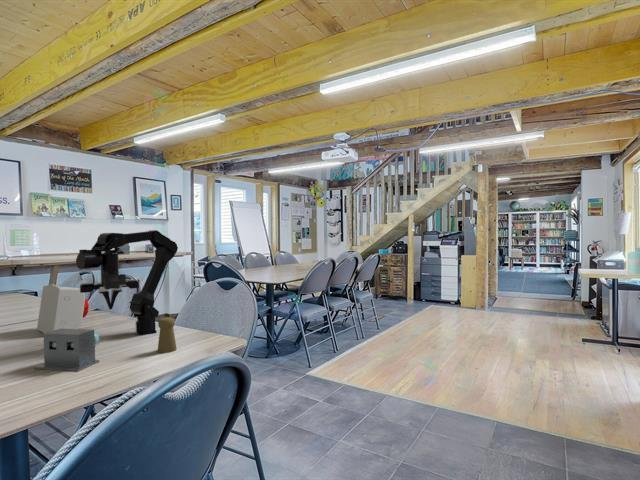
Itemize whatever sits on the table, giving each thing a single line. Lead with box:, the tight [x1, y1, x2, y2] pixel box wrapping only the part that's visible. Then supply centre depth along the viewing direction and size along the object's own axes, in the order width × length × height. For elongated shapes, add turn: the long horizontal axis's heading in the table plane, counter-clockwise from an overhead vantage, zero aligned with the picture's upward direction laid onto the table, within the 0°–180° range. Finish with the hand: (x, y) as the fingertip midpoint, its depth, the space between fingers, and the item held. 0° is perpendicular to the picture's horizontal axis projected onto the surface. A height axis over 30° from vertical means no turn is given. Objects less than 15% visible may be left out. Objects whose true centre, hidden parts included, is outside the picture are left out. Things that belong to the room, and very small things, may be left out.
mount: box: [33, 328, 100, 372], centre depth 113 cm, size 8×15×10 cm, turn 80°
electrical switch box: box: [36, 283, 90, 334], centre depth 158 cm, size 15×15×20 cm
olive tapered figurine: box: [157, 316, 177, 354], centre depth 127 cm, size 6×6×11 cm
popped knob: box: [71, 331, 100, 348], centre depth 115 cm, size 8×4×4 cm, turn 170°
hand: (110, 309), depth 138 cm, fingers closed
